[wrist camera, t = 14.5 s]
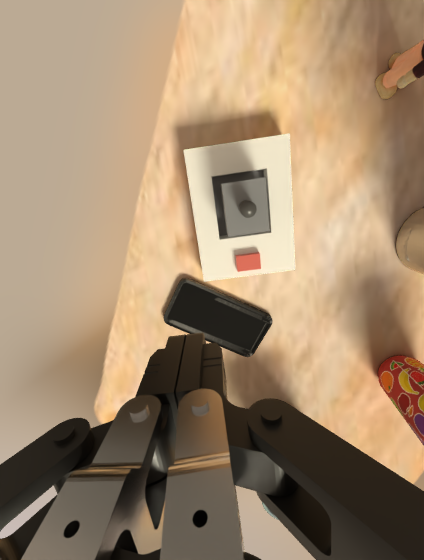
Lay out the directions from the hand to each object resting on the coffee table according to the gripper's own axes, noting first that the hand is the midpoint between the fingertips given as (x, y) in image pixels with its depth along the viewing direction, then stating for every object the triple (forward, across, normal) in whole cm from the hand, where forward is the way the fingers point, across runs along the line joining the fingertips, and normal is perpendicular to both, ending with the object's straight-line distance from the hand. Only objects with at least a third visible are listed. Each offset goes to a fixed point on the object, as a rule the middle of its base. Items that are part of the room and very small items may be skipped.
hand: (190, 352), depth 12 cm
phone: (+28, 0, +12) cm, 30 cm away
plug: (+27, -5, -4) cm, 27 cm away
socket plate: (+27, -5, -3) cm, 28 cm away
